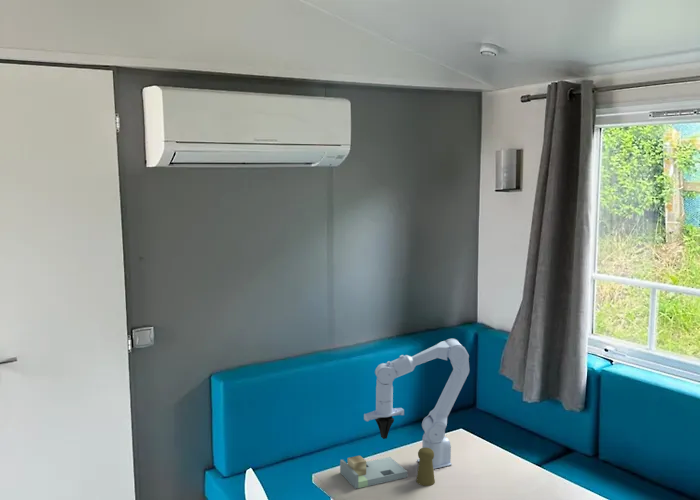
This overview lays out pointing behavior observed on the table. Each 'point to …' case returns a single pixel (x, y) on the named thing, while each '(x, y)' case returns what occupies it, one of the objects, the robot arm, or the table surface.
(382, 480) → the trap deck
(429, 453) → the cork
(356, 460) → the beech block
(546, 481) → the table surface
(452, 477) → the table surface
